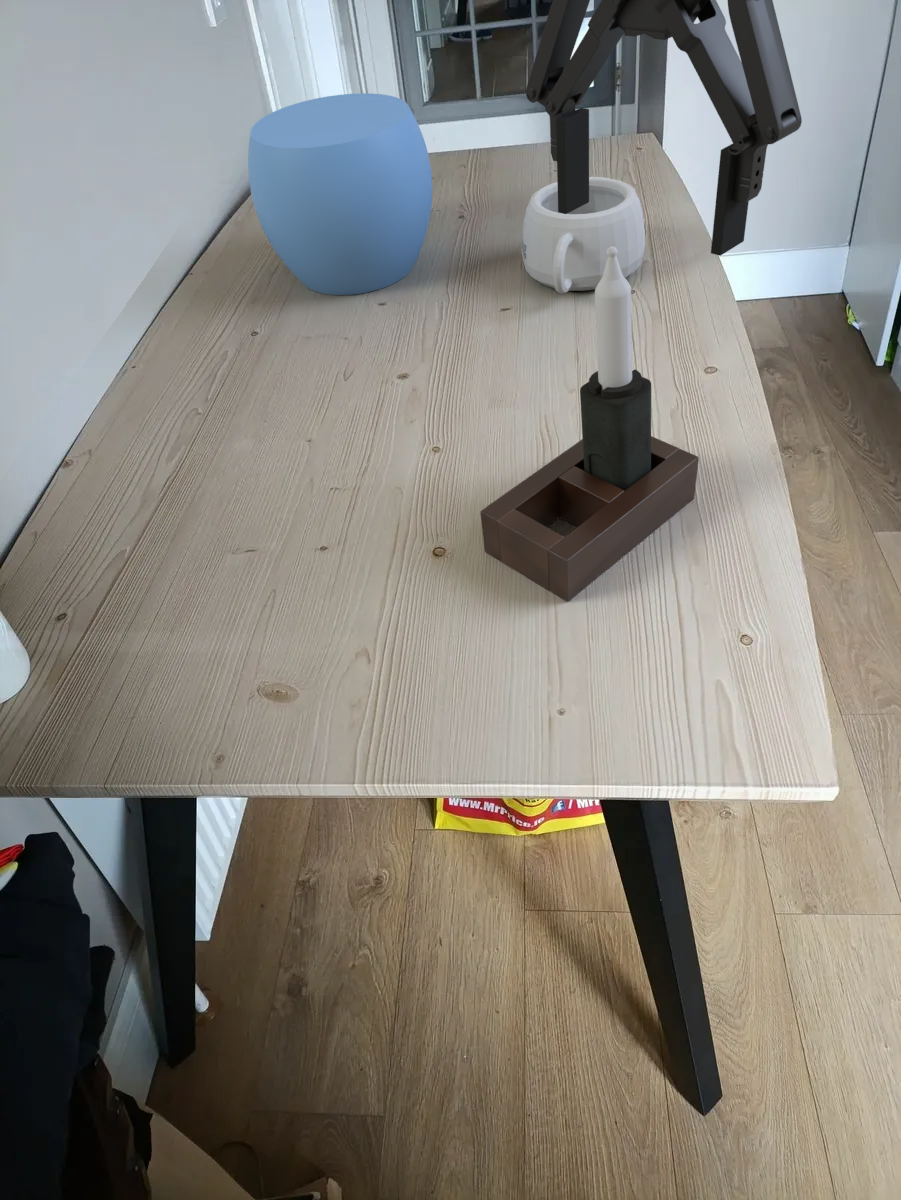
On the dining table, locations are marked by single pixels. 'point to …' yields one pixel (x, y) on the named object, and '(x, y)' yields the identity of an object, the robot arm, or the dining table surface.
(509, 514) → the rack
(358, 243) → the blue rounded stool
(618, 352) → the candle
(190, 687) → the dining table surface
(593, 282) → the mug
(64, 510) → the dining table surface
